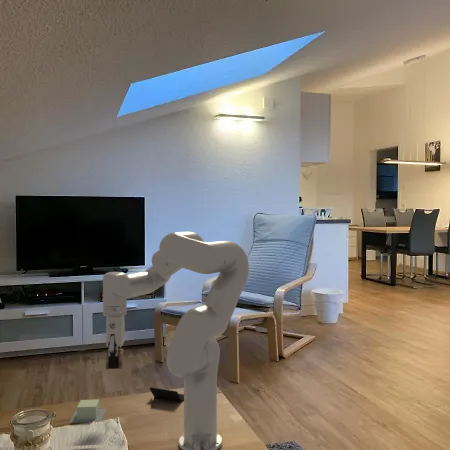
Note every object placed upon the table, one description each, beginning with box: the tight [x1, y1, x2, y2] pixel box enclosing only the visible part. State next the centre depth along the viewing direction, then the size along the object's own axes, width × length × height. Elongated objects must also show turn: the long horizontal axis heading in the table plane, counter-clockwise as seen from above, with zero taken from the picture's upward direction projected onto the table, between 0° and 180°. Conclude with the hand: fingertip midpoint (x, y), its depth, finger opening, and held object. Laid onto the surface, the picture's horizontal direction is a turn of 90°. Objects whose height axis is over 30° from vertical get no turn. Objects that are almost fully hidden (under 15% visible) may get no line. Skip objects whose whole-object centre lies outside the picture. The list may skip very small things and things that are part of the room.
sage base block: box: [76, 399, 100, 420], centre depth 153 cm, size 6×6×4 cm
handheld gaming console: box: [149, 386, 184, 404], centre depth 168 cm, size 12×7×10 cm
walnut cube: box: [105, 348, 125, 370], centre depth 152 cm, size 5×5×5 cm
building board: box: [68, 408, 107, 424], centre depth 153 cm, size 10×10×1 cm
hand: (114, 364), depth 152 cm, fingers closed on walnut cube, 5 cm apart
